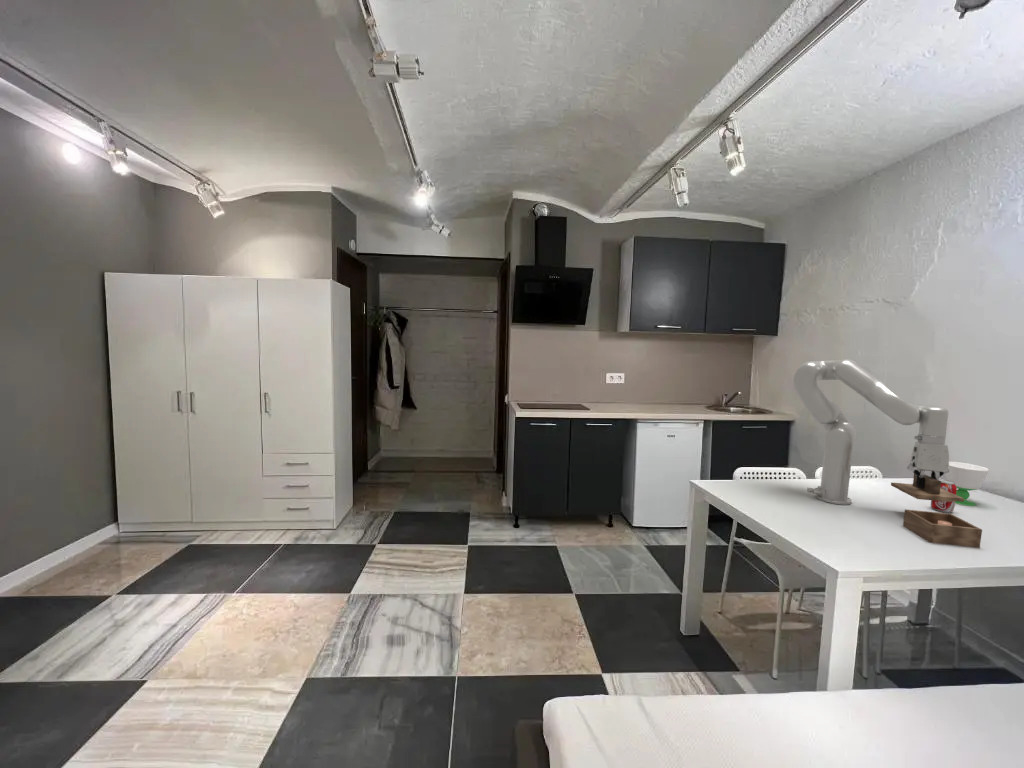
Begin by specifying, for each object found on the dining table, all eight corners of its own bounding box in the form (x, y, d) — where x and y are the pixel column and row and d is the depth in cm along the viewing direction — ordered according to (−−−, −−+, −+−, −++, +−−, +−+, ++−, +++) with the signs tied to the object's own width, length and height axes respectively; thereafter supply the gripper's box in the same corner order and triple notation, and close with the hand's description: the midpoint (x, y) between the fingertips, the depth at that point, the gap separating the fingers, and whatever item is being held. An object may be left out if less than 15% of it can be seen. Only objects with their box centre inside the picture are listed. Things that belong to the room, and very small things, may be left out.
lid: (914, 500, 168) (916, 480, 168) (890, 487, 183) (892, 470, 182) (963, 504, 165) (965, 484, 165) (934, 491, 180) (936, 473, 179)
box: (928, 545, 152) (931, 524, 151) (902, 528, 165) (904, 509, 165) (979, 550, 149) (982, 529, 148) (948, 533, 162) (951, 513, 162)
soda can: (958, 514, 182) (962, 484, 181) (937, 512, 183) (941, 483, 182) (945, 508, 189) (949, 479, 187) (925, 506, 190) (929, 477, 189)
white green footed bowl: (938, 494, 207) (942, 459, 205) (981, 502, 198) (986, 466, 197) (940, 502, 196) (945, 465, 195) (986, 510, 188) (991, 472, 186)
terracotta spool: (940, 535, 158) (942, 523, 158) (933, 530, 161) (935, 519, 161) (953, 536, 157) (954, 525, 157) (945, 532, 161) (947, 521, 160)
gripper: (912, 440, 170) (907, 488, 172) (964, 443, 167) (958, 493, 169) (900, 436, 178) (895, 483, 179) (949, 439, 174) (944, 486, 176)
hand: (926, 487), depth 174 cm, fingers closed on lid, 3 cm apart
